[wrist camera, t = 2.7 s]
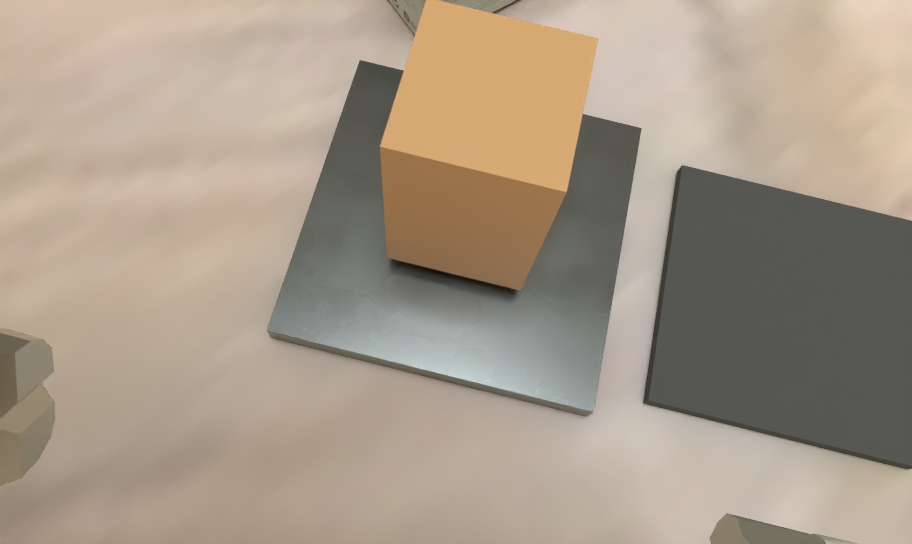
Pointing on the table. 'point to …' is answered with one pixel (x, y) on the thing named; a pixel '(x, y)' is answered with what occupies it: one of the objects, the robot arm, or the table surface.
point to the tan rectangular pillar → (481, 141)
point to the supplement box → (412, 3)
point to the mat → (786, 317)
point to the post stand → (452, 296)
